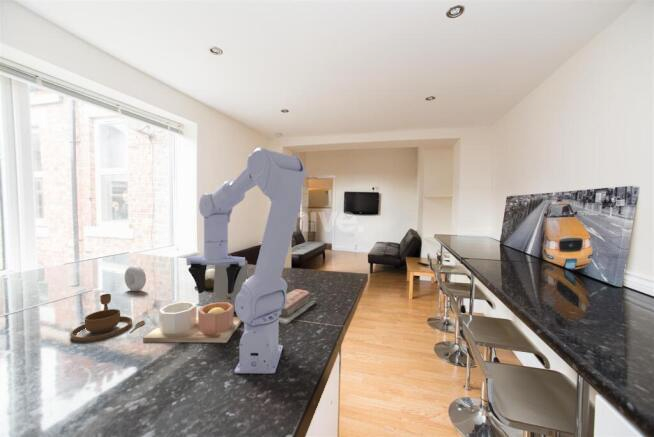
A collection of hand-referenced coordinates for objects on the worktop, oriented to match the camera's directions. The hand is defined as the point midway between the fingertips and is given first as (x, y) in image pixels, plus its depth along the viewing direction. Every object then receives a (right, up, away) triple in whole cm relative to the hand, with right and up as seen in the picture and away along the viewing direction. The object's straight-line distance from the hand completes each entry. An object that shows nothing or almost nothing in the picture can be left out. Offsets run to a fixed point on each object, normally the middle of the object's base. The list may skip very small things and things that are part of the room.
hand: (216, 292), depth 66 cm
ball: (0, -7, 0) cm, 7 cm away
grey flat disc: (-44, -9, +30) cm, 54 cm away
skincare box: (-2, -10, +15) cm, 18 cm away
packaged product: (+17, -11, +15) cm, 25 cm away
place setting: (-30, -10, +4) cm, 32 cm away
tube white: (-10, -10, 0) cm, 14 cm away
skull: (-18, -9, +37) cm, 42 cm away
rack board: (-5, -10, 0) cm, 11 cm away
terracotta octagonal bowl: (0, -10, 0) cm, 10 cm away
